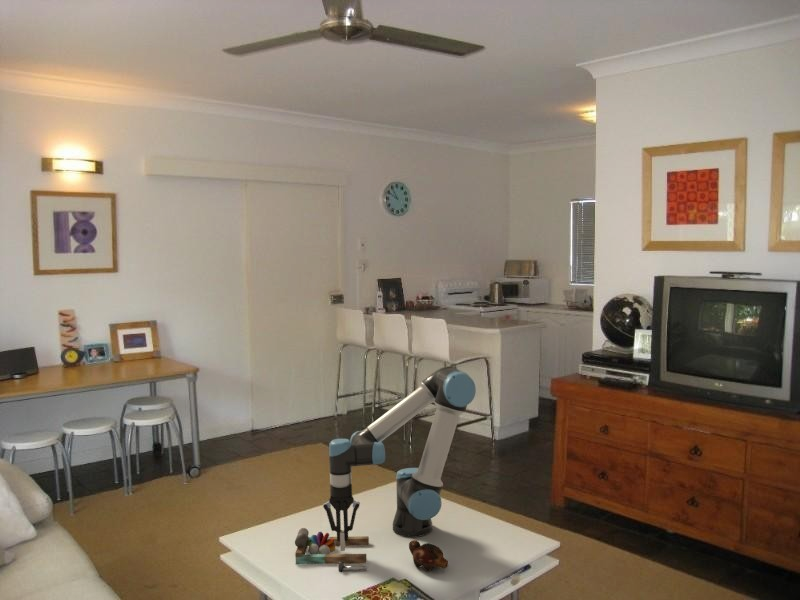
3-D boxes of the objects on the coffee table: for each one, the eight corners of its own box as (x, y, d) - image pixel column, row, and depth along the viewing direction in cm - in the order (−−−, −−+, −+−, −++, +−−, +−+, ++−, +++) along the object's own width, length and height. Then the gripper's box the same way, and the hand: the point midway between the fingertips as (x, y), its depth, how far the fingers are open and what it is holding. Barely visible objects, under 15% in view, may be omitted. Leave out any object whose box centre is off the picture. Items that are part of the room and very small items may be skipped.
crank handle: (367, 569, 223) (367, 560, 223) (367, 571, 221) (367, 563, 221) (338, 569, 223) (338, 560, 223) (338, 572, 221) (338, 563, 221)
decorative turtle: (414, 556, 232) (415, 534, 231) (453, 569, 224) (455, 546, 224) (400, 566, 224) (401, 543, 223) (440, 580, 216) (442, 556, 216)
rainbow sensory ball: (330, 559, 231) (330, 538, 231) (304, 556, 234) (304, 535, 233) (339, 548, 240) (338, 528, 239) (313, 545, 242) (313, 526, 241)
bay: (368, 543, 243) (368, 522, 243) (366, 563, 227) (365, 541, 227) (300, 543, 243) (300, 523, 243) (293, 564, 227) (292, 542, 227)
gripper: (360, 479, 237) (362, 544, 239) (323, 480, 237) (325, 544, 239) (358, 487, 230) (360, 553, 231) (320, 488, 230) (323, 554, 232)
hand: (343, 549), depth 235 cm, fingers closed
